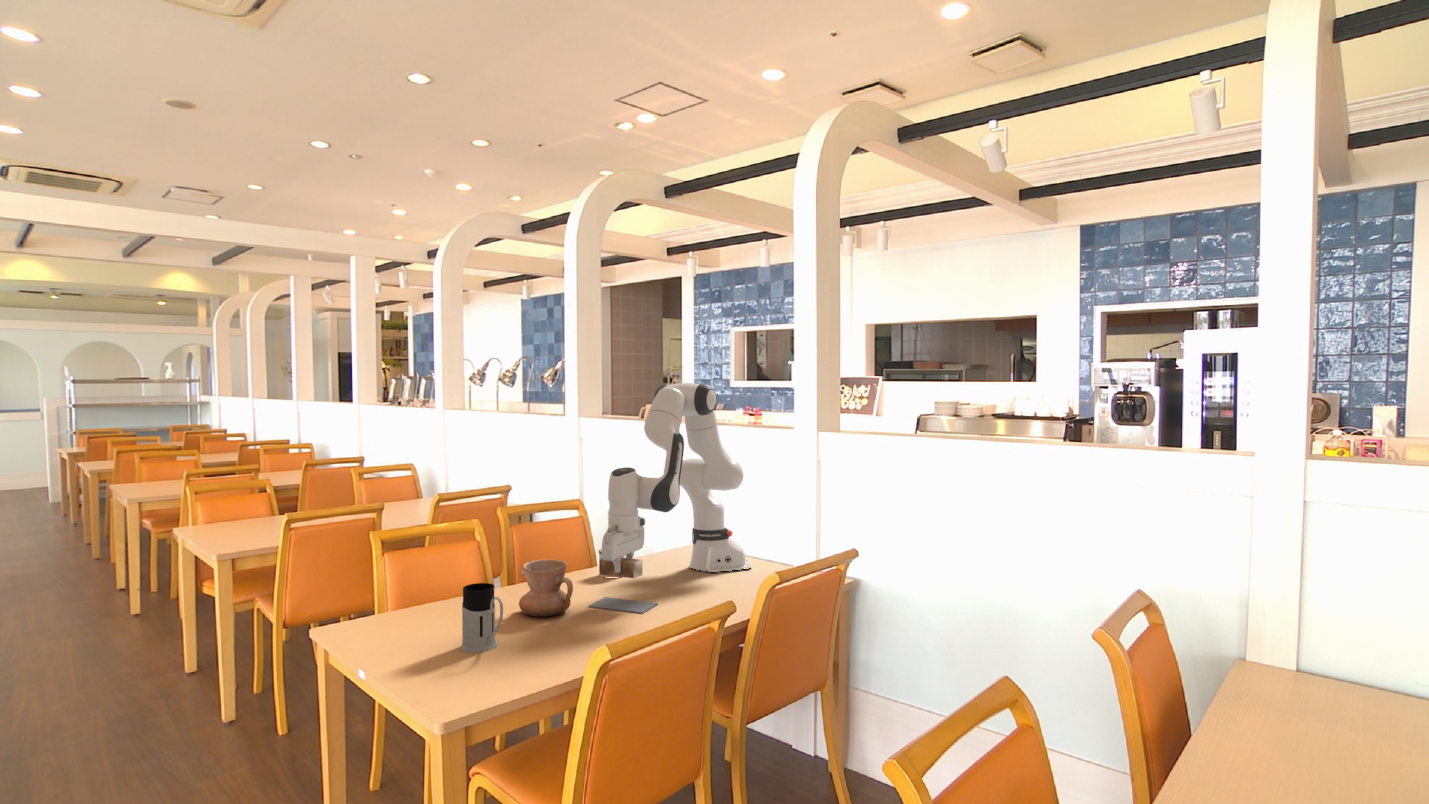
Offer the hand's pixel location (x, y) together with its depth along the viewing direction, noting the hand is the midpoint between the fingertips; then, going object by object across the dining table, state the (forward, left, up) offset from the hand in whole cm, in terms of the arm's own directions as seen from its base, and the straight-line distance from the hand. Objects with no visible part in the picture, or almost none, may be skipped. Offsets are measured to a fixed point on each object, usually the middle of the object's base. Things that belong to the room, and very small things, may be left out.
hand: (623, 569), depth 223 cm
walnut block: (+6, -3, +1) cm, 7 cm away
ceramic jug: (+22, +4, -11) cm, 25 cm away
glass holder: (+35, +32, -11) cm, 49 cm away
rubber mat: (0, 0, -11) cm, 11 cm away
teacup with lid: (+2, -38, -11) cm, 40 cm away
